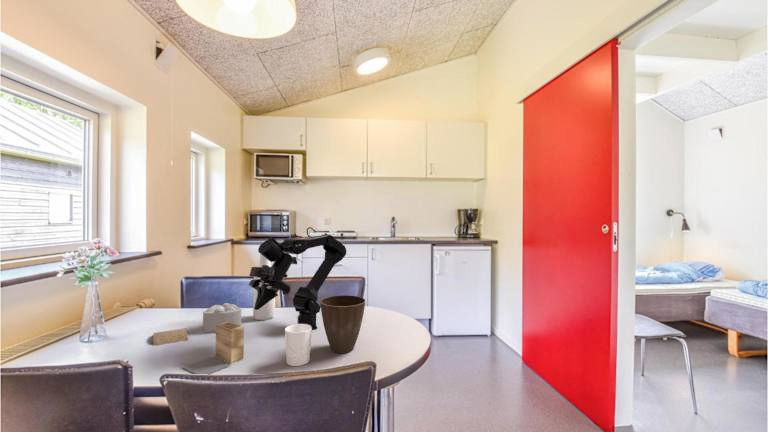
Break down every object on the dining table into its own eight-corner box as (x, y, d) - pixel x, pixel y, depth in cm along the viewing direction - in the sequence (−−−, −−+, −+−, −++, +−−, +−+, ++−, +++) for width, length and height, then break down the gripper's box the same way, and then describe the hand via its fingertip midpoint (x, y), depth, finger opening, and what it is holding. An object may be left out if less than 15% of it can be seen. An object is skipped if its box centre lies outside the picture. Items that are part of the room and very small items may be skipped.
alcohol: (249, 317, 138) (250, 248, 138) (269, 313, 144) (270, 247, 144) (257, 322, 131) (258, 249, 132) (278, 317, 137) (279, 248, 138)
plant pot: (325, 339, 113) (325, 294, 113) (366, 340, 113) (367, 295, 113) (314, 357, 98) (315, 305, 98) (362, 358, 98) (363, 306, 98)
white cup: (287, 369, 90) (287, 334, 90) (282, 358, 97) (282, 325, 97) (314, 364, 94) (314, 330, 94) (307, 353, 101) (308, 322, 101)
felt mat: (210, 358, 97) (210, 357, 97) (229, 366, 92) (229, 365, 92) (182, 368, 90) (182, 367, 90) (202, 377, 85) (202, 376, 85)
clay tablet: (188, 342, 111) (188, 334, 111) (152, 349, 105) (152, 340, 105) (185, 330, 123) (185, 323, 123) (153, 335, 117) (153, 328, 117)
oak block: (227, 353, 101) (228, 321, 101) (243, 359, 97) (243, 325, 97) (215, 357, 98) (216, 324, 98) (231, 364, 93) (231, 329, 93)
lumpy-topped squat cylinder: (211, 323, 129) (211, 302, 129) (244, 322, 131) (245, 301, 131) (199, 332, 119) (200, 309, 119) (236, 331, 120) (236, 308, 121)
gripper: (249, 257, 116) (223, 296, 107) (276, 255, 103) (249, 299, 95) (272, 273, 122) (250, 311, 113) (300, 273, 109) (277, 316, 101)
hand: (255, 309), depth 106 cm, fingers closed
